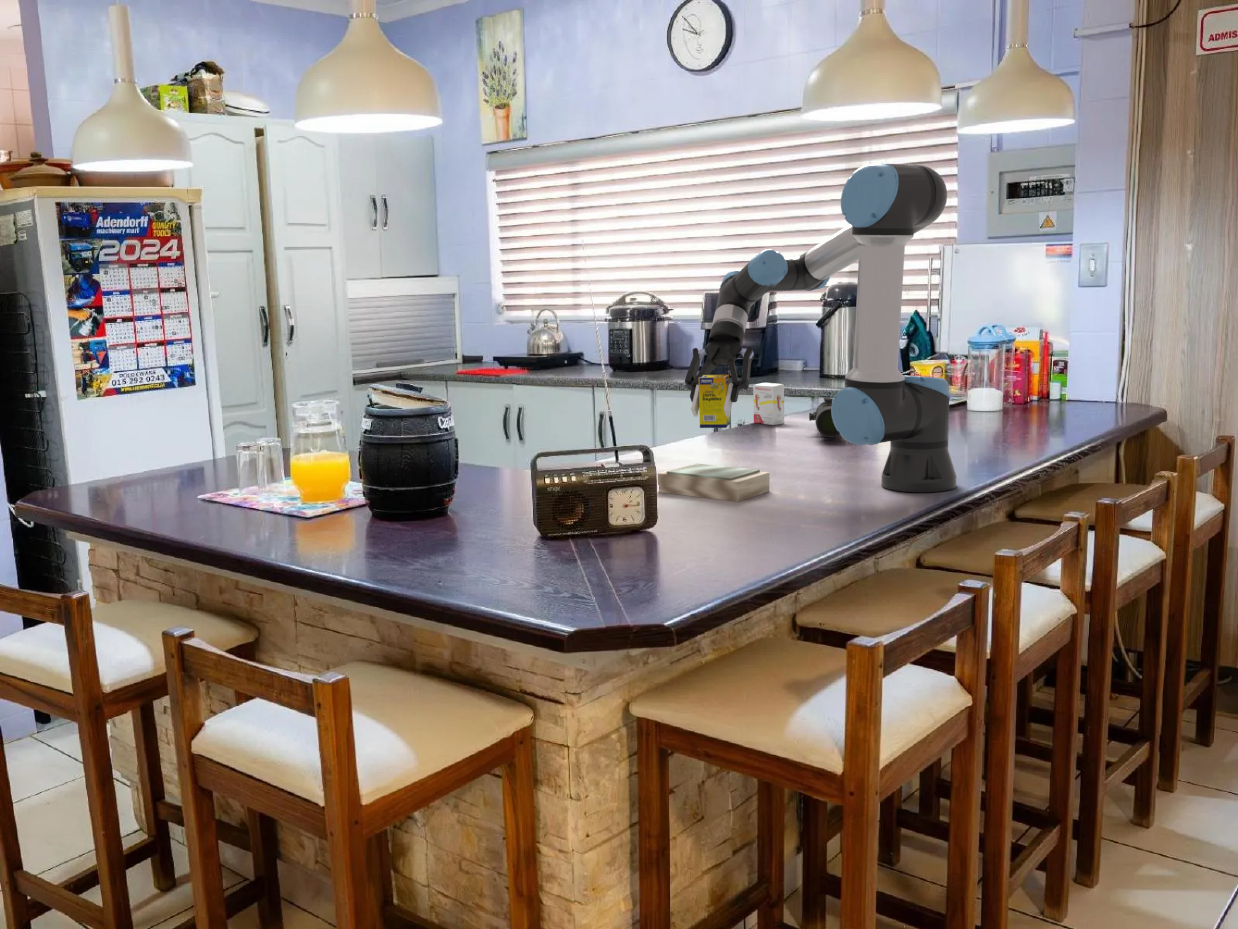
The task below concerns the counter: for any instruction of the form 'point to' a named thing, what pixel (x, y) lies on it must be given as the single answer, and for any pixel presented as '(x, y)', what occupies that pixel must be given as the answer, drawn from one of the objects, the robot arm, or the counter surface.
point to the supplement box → (713, 401)
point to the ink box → (768, 403)
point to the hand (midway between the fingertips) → (710, 412)
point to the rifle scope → (824, 419)
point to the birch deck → (714, 482)
